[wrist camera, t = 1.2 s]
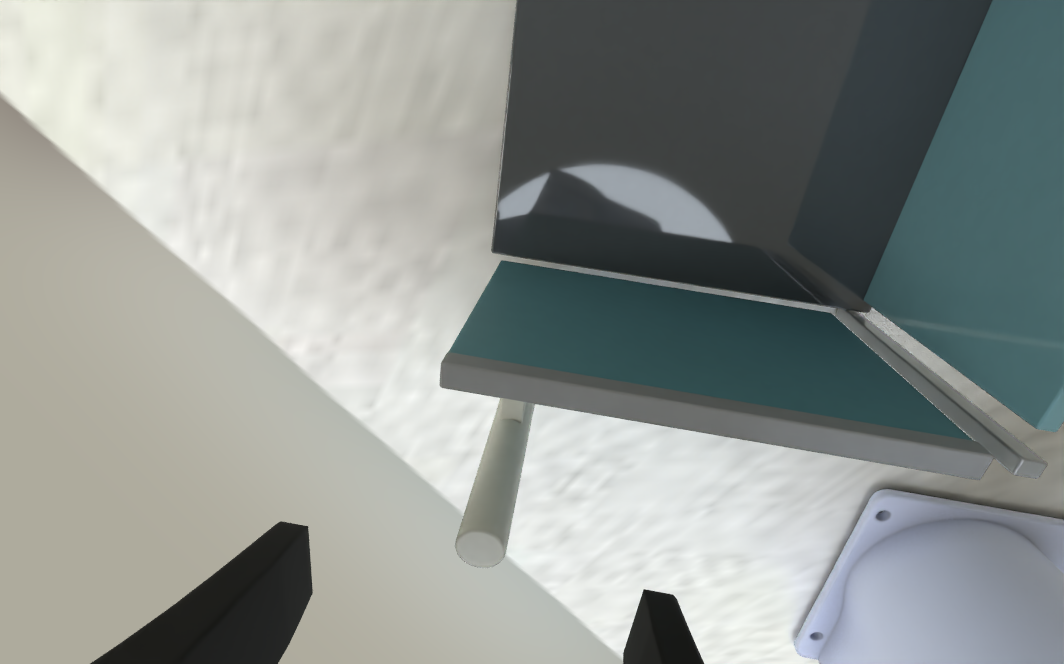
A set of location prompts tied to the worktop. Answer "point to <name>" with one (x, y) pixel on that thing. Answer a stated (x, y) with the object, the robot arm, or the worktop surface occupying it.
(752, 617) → the worktop surface
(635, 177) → the teal open box
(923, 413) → the teal shelf
